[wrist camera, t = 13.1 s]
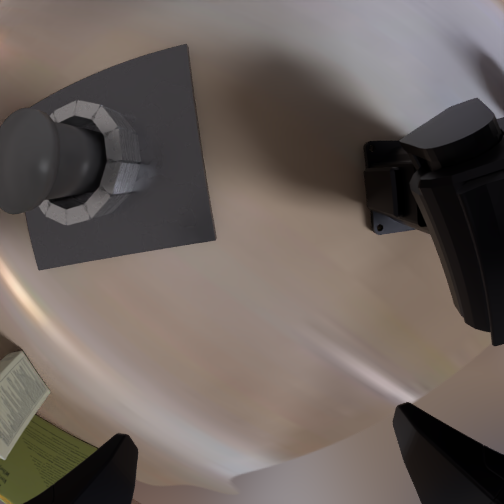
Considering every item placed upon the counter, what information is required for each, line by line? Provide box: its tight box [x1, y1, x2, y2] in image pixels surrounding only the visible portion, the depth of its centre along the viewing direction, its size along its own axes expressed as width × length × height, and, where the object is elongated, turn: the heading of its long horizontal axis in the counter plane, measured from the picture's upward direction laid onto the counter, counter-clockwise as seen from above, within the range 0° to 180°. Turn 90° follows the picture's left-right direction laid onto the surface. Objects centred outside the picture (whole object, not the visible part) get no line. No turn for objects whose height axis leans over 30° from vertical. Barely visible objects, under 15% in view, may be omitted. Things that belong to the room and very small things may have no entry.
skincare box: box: [0, 351, 50, 460], centre depth 17 cm, size 6×4×12 cm
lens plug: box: [0, 108, 107, 214], centre depth 13 cm, size 5×5×8 cm
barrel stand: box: [25, 44, 217, 270], centre depth 16 cm, size 16×14×4 cm
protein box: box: [0, 415, 98, 504], centre depth 19 cm, size 10×15×16 cm
